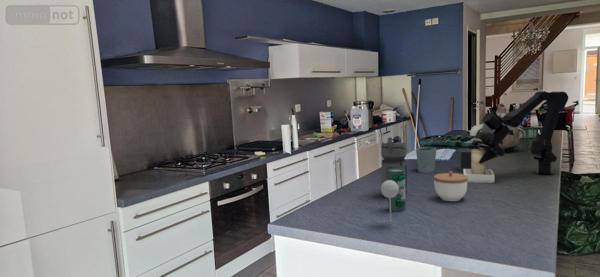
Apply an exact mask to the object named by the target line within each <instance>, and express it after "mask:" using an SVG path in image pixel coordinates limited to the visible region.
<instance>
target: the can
mask: <svg viewBox="0 0 600 277" xmlns="http://www.w3.org/2000/svg"><path fill="white" fill-rule="evenodd" d="M388 180H392V181H394V182H396V183H397V185H398V187H399V192H398V194H397V195H396V196H395V197H393V198H391V212H403V211H405V210H406V209H407V208H406V207H407V206H406V205H407V204H406V195H405V170H404V169H401V168H391V169H388V170H387V181H388ZM387 208H388V211H390V205H389V198H387Z"/></svg>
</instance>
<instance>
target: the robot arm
mask: <svg viewBox="0 0 600 277" xmlns="http://www.w3.org/2000/svg"><path fill="white" fill-rule="evenodd" d="M544 101H546V106H547V111H546V114H545V117H544V120H543V124H542V128H541V131H540V134H539V137H538V139H537V140H533V141H532V144H531V147H530V153H531V155H532V156H533V159H534V160H536V161H537V170H535V172H536V174H537V175H548V176H550V175H554V172H553V171H552V168H553V166H552V165H553V164H552V163H555V162H557V160H558V157H557V156H556V155H555V154H554V153H553V144H552V138H553V134H554V131H555V128H556V124H557V122H558V118H559V116H560V112H561V111H562V109H563V108H564V107H565V106H566V105H567V103H568V101H569V95H568V93H567V92H566V91H551V92H549V91H543V90H541V91H536V92H535V93H534V95H532V96H531V97H530V98H528V100H526V101H524V103H522V105H520V106H519V107H518V108H516V109H515V110H512V111H509V112H507V114H506V115H504V116H503V117H501V118H500V117H499V116H498V115H497V114H496V111H491V112H490V113H487V114H486V115H484V116H483V118H482V119H481V121H482V123H483V124H485V125H486V126H487V127H488V128H489V129H490V130H494V131H493V133H492V134H491V133H490V132H485V133H483V132H481V131H480V132H478V130H477V131H476V134H475V136H474V138H475V140H473V141H472V142H471V145H472V146H473V147H474V149H484V150H485V154H484V155H483V156H482V158H481V159H480V161H479V163H480V164H481V163H483V162H485V163H487V162H488V161H490V160H493V159H495V158H498V157H501V158H503V157H504V156H505V153H506V151H505V149H504V150H503V149H502V148H501V147H500V146H499V144H503V142H502V141H503V140H504V139H505V137H506V136H507V135H514V133H513V130H512V129H509V128H508V127H519V126H521V124H523V122H524V119H525V118H526V116H527V115H528V114H529V113H531V112H532V111H533V110H534V109H536V108H537V107H538V106H539V105H540V104H542V103H543V102H544ZM502 123H503V124H504V125H505V126H504V125H503V124H502ZM507 126H508V127H507ZM481 140H482V141H481ZM483 143H484V144H483Z"/></svg>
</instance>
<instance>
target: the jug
mask: <svg viewBox="0 0 600 277" xmlns="http://www.w3.org/2000/svg"><path fill="white" fill-rule="evenodd" d="M496 107H497V108H496V111H495V112H496V114H497V115H498V116H499V117H500V118H501V117H503V116H504V115H506V114H508V112H507V106H506V105H505V104H504V103H503V102H502V103H499V104H497V106H496ZM502 124H503V123H502ZM503 125H504V124H503ZM504 126H505V125H504ZM507 127H508V126H507ZM508 128H509V129H512V130H513V133H514V135H507V136H506V137H505V139H504V140H503V141H502V142H503V144H499V146H500V147H501V148H502V149H503V150H504V151H505V150H506V149H508V148H511V147H514V146H517V145H518V144H519V141H520V139H521V138H523V137H524V136H525V131H524V130H523V129H522V128H520V127H519V126H518V127H508ZM477 131H478V132H483V133H485V132H490V133H491V134H492V133H493V131H494V130H490V129H489V128H488V127H487V126H486V125H485V124H484V123H483V124H482V127H480V128H478V130H477ZM520 132H521V134H520ZM480 141H482V140H480ZM483 144H484V143H483Z"/></svg>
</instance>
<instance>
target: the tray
mask: <svg viewBox="0 0 600 277" xmlns="http://www.w3.org/2000/svg"><path fill="white" fill-rule="evenodd" d="M462 174H463V175H466V176H467V177H468V180H467V183H477V184H478V183H481V184H485V183H486V184H495V173H494V171H493V169H489V168H488V169H486V168H485V175H473V174H471V169H463V172H462Z"/></svg>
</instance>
